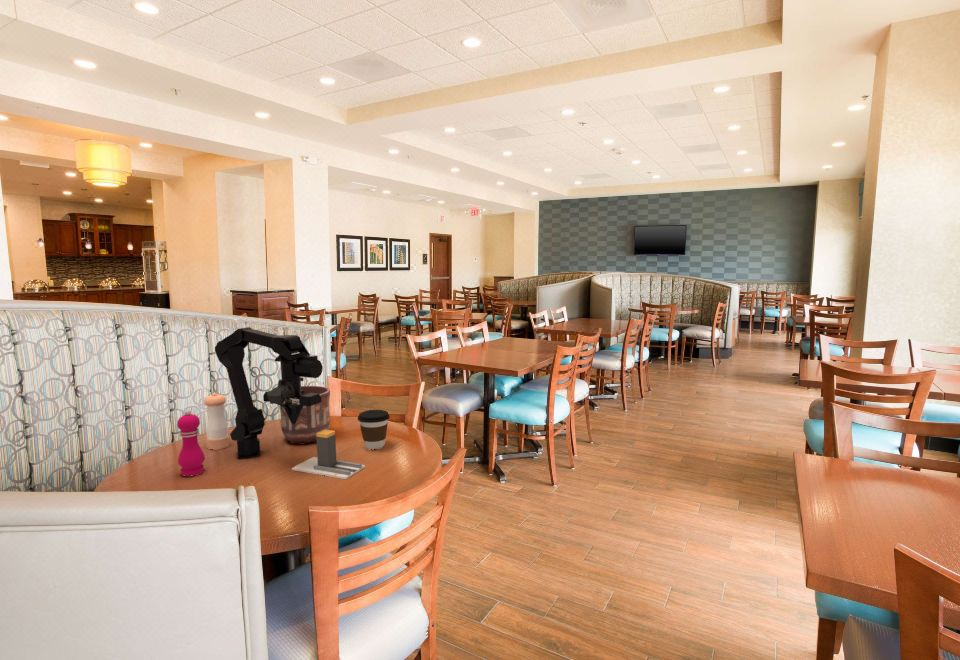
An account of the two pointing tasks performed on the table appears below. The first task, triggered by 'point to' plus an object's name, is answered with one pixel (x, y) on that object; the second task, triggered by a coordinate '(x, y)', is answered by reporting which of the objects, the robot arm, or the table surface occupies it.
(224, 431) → the pepper shaker
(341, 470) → the plate
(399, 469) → the table surface
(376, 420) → the coffee cup
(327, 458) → the fader knob
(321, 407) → the pottery
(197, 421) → the pepper mill
